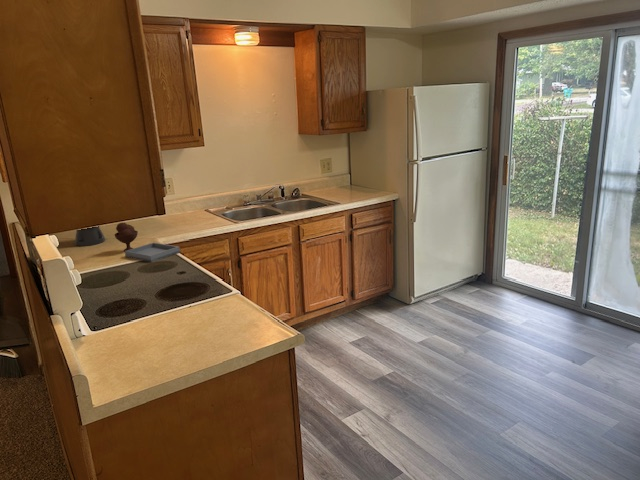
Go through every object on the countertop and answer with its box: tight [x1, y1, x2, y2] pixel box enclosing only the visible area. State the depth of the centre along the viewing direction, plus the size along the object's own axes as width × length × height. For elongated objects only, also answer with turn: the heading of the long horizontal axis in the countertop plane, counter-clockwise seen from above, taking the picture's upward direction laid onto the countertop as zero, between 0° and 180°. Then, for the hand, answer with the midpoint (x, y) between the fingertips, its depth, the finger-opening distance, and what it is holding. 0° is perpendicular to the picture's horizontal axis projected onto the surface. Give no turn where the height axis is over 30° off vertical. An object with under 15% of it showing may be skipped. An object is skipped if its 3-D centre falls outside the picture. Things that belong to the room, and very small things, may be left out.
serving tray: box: [124, 241, 181, 263], centre depth 236 cm, size 20×17×3 cm
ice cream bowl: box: [114, 222, 139, 253], centre depth 245 cm, size 11×11×15 cm
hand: (123, 202), depth 232 cm, fingers open, 13 cm apart
